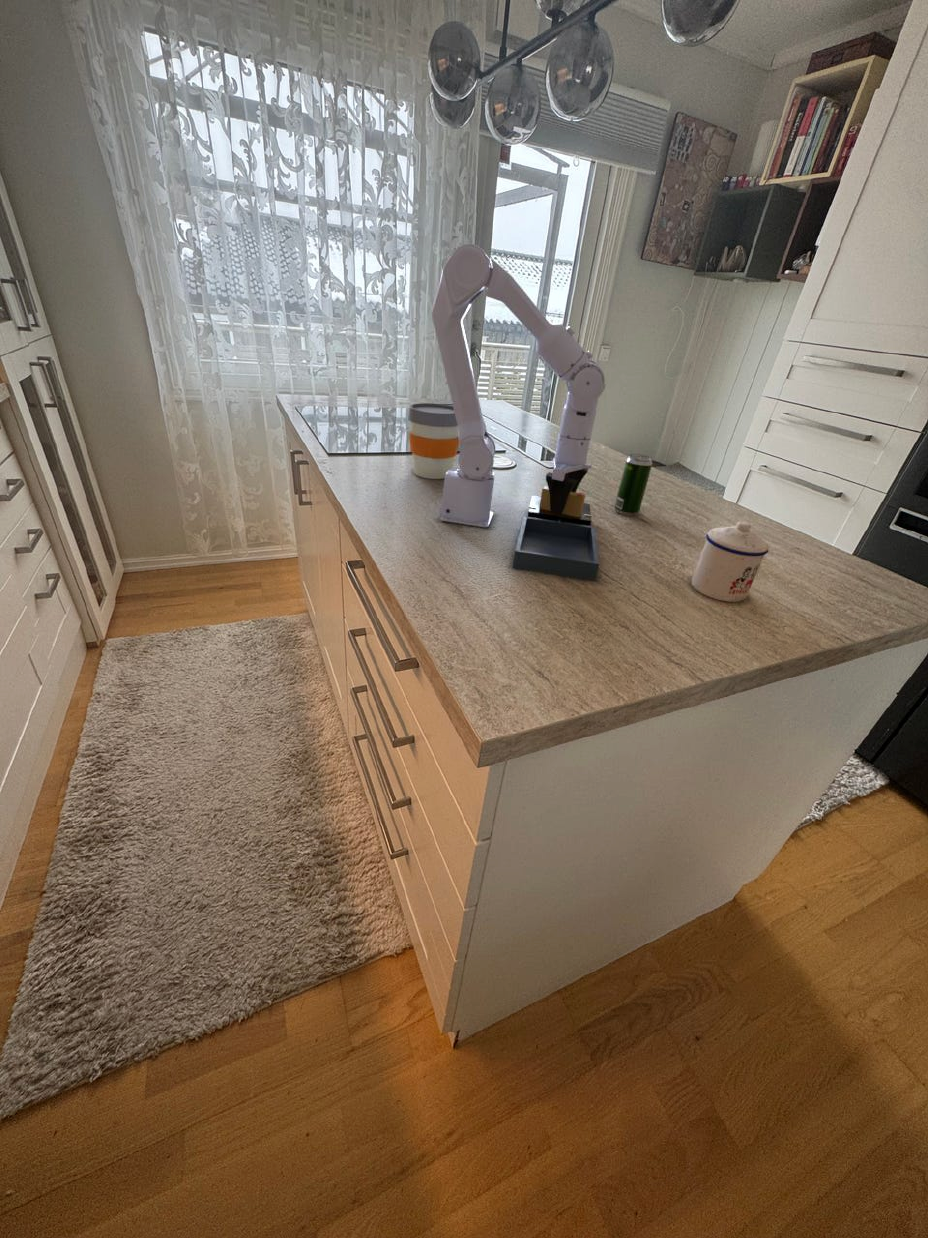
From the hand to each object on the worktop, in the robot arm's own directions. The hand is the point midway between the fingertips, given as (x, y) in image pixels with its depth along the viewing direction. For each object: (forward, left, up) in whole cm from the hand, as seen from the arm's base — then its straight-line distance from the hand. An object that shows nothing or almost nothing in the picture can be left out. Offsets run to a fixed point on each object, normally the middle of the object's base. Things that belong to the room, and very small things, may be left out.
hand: (560, 508), depth 100 cm
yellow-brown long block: (0, 0, -1) cm, 1 cm away
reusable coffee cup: (-31, +24, -4) cm, 40 cm away
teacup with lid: (+28, -16, -4) cm, 32 cm away
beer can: (+15, +16, -4) cm, 23 cm away
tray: (0, -12, -4) cm, 13 cm away
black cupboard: (0, +1, -4) cm, 4 cm away
